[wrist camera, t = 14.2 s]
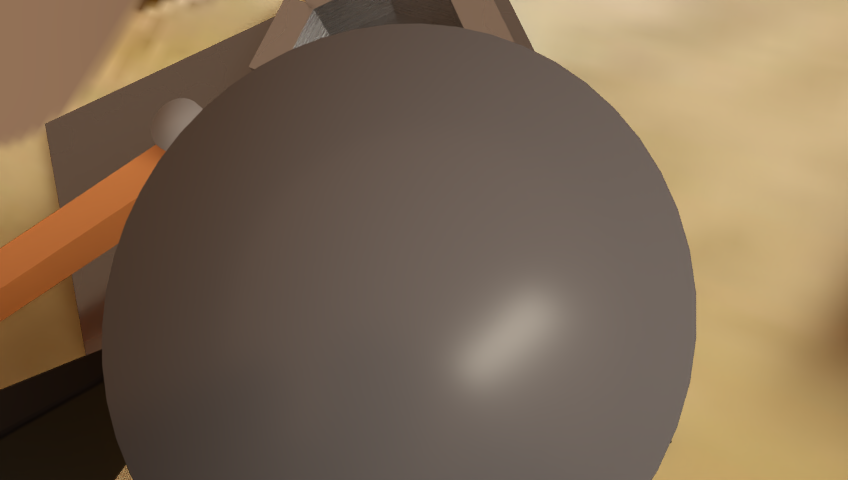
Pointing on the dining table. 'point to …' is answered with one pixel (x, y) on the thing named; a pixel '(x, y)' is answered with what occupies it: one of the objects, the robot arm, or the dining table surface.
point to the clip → (84, 220)
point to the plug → (401, 276)
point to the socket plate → (204, 81)
